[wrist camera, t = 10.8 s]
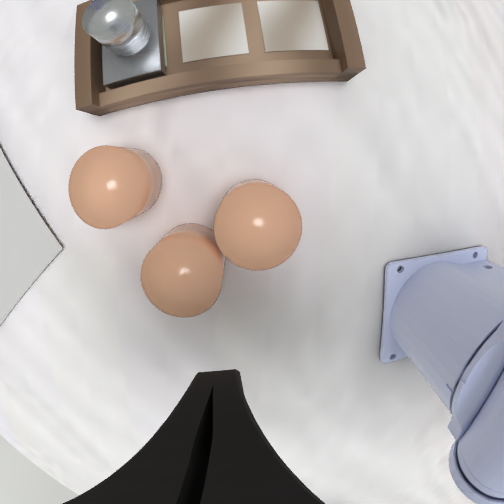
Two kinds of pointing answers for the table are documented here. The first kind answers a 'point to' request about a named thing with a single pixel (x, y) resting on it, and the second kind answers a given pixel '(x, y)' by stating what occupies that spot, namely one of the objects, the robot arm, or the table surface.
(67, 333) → the table surface
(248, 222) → the peach domed capsule
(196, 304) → the peach rounded cylinder
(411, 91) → the table surface
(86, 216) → the peach domed cylinder
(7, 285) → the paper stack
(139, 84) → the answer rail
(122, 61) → the slider
